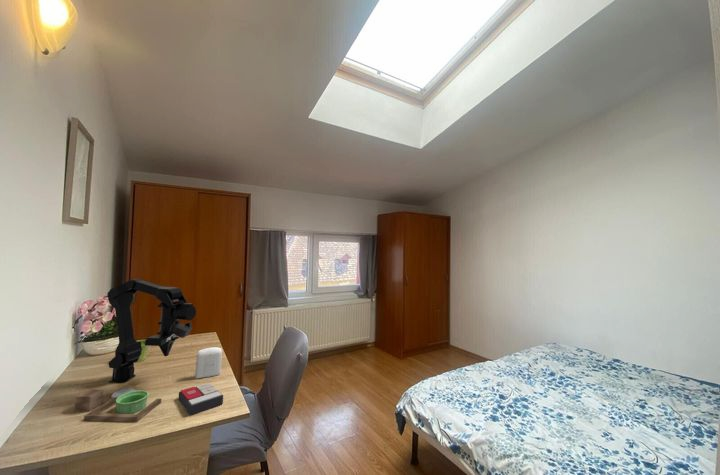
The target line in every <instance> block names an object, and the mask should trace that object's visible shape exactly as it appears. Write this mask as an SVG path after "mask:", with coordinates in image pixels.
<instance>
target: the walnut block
mask: <svg viewBox="0 0 720 475" xmlns="http://www.w3.org/2000/svg"><path fill="white" fill-rule="evenodd" d="M104 391H105V390H104V389H95V388H94V389H91V388H89V389H87V390H85V391H84V392H82V393H79V394H77V395H76V396H75V402H74V403H75V404H74V412H87V413H90V412H91V411H93V410H95V409H96V408H98V407H99V406H101V405H103V404H104V402H103V400H104Z"/></svg>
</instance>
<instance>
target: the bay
mask: <svg viewBox="0 0 720 475" xmlns="http://www.w3.org/2000/svg"><path fill="white" fill-rule="evenodd" d="M117 398H118V397H114V398H110V399H109V400H108V401H106V402H105V403H104V402H103V403H102V404H101V405H99V406H98V407H96V408H94V409H93V410H91V411H90V412H87V414H85V415H84V417H83V421H86V422H87V421H90V422H93V421H94V422H124V423H126V422H127V423H128V422H129V423H130V422H132V423H135V422H136V423H137V422H139V421H140V420H142V419H143V418H144V417H145V416H146V415H148V414H149V413H150V412H152V411H153V410H154V409H155V408H156V407H157V406H159V405H160V404H162V398H156V399H155V400H153V401H152V402H151V403H149V404H148V405H146V406H145V407H144V408H143V409H142V410H141V411H139V412H137V413H134V414H117V413H105V412H104V411H106V410H108V409H109V408H111V407H113V405H115V404H116V399H117ZM102 412H104V413H102Z"/></svg>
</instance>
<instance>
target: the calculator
mask: <svg viewBox="0 0 720 475" xmlns="http://www.w3.org/2000/svg"><path fill="white" fill-rule="evenodd" d="M177 398H178V399H177V400H178V401H179V403H180V404H181V406H183V407H184V410H186V413H187V414H188V415H189V417H192V416H195V415H198V414H200V413H203V412H206V411H209V410H211V409H214V408H217V407H220V405H221V406H223V405H224V404H223V403H224V394H222V393H221V392H220V391H219V390H218V389H217V388H216V387H215V386H214V385H212V383H210V382H206V383H202V384H199V385H196V386H192V387H188V388H185V389H181V390H179V391H178V397H177ZM222 404H223V405H222Z"/></svg>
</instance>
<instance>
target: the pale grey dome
mask: <svg viewBox="0 0 720 475" xmlns="http://www.w3.org/2000/svg"><path fill="white" fill-rule="evenodd" d="M132 391H136V389H135V388H133V387H131V388H129V387H128V388H123V389H118V390H117V391H115V392H113V393H112V394H111V397H110V399H112V398H114V397H120V396H121V395H123V394H126V393H128V392H132Z"/></svg>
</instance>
